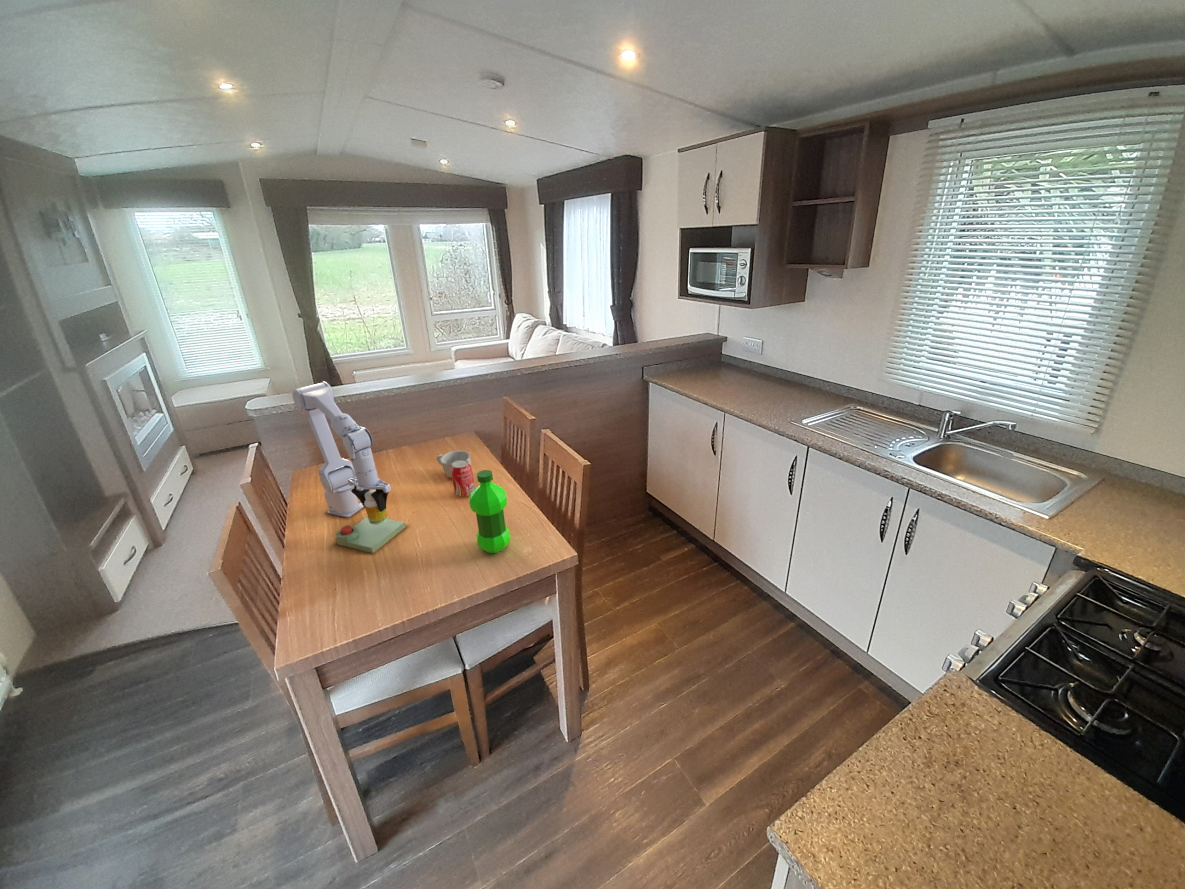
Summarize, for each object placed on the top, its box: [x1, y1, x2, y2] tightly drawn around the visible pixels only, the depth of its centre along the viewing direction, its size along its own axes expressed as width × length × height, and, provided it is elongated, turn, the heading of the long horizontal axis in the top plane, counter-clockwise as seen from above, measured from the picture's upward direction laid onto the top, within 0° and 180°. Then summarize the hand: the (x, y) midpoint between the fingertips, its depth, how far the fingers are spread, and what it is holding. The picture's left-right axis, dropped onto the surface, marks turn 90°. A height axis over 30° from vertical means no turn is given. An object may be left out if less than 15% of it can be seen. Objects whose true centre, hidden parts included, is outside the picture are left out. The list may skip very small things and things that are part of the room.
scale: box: [335, 516, 406, 554], centre depth 147 cm, size 14×14×4 cm
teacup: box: [436, 450, 472, 479], centre depth 182 cm, size 14×11×8 cm
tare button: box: [340, 525, 353, 535], centre depth 144 cm, size 3×3×2 cm
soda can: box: [451, 460, 475, 498], centre depth 167 cm, size 7×7×12 cm
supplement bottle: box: [364, 489, 389, 525], centre depth 145 cm, size 5×5×10 cm
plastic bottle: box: [468, 469, 511, 554], centre depth 135 cm, size 10×10×25 cm
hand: (375, 508), depth 145 cm, fingers closed on supplement bottle, 5 cm apart
